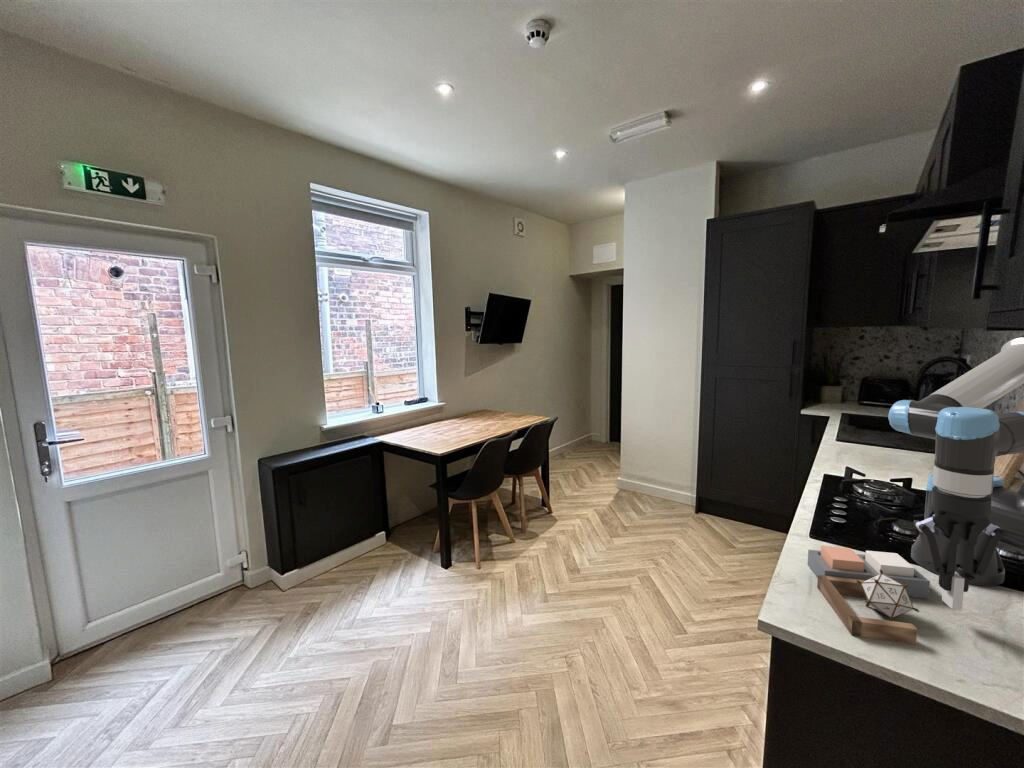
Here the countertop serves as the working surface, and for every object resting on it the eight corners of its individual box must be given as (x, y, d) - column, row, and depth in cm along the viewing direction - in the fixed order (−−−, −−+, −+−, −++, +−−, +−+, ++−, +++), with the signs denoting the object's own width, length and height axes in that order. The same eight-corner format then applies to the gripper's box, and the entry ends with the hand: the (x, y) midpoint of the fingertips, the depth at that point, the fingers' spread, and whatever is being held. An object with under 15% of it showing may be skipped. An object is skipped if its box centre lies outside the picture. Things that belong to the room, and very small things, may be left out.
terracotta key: (849, 560, 97) (850, 548, 96) (863, 574, 91) (864, 562, 91) (820, 557, 98) (821, 545, 98) (832, 571, 93) (832, 559, 92)
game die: (874, 622, 86) (863, 571, 90) (929, 630, 79) (915, 574, 84) (856, 616, 82) (846, 563, 86) (913, 623, 75) (899, 565, 80)
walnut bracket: (870, 593, 89) (871, 580, 89) (916, 644, 75) (917, 629, 75) (817, 587, 92) (817, 575, 92) (851, 635, 78) (852, 620, 78)
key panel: (901, 574, 95) (902, 558, 95) (928, 598, 87) (929, 581, 86) (807, 564, 101) (808, 549, 100) (823, 586, 92) (824, 570, 92)
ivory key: (896, 565, 94) (897, 553, 94) (913, 580, 89) (914, 568, 88) (864, 562, 96) (865, 550, 96) (879, 577, 90) (880, 564, 90)
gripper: (989, 483, 78) (978, 596, 81) (905, 481, 82) (898, 589, 85) (1025, 500, 71) (1012, 622, 74) (931, 496, 75) (923, 613, 78)
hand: (951, 604), depth 80 cm, fingers closed
